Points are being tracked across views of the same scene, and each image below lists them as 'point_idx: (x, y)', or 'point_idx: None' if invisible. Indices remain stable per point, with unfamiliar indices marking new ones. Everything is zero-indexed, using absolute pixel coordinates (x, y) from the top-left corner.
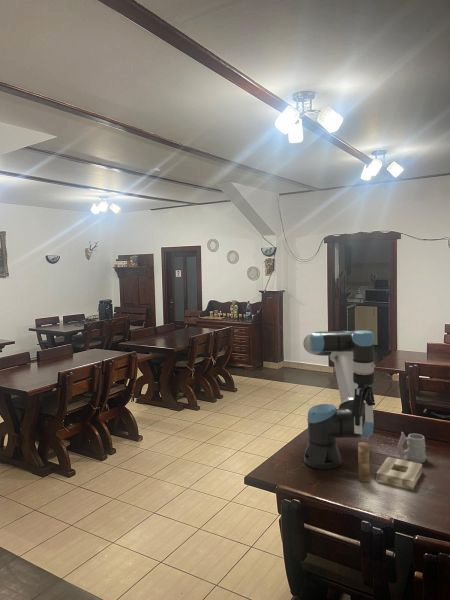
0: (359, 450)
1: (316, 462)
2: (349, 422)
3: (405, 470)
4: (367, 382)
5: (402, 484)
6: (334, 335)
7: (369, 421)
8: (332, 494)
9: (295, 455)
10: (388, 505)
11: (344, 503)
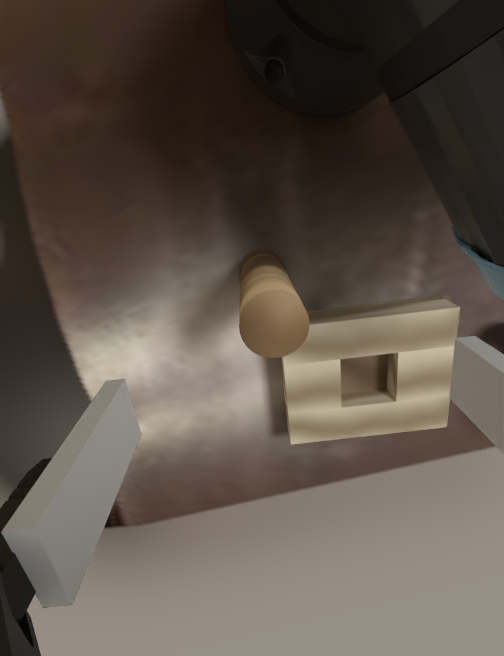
0: (242, 301)
1: (227, 2)
2: (471, 146)
3: (390, 382)
4: None
5: (285, 402)
6: None
7: (456, 378)
8: (69, 224)
9: None
10: (147, 401)
11: (50, 291)
